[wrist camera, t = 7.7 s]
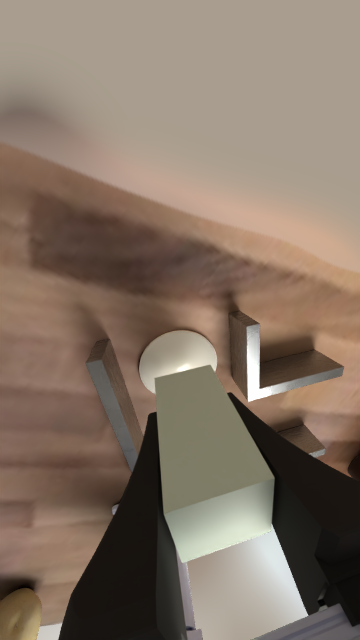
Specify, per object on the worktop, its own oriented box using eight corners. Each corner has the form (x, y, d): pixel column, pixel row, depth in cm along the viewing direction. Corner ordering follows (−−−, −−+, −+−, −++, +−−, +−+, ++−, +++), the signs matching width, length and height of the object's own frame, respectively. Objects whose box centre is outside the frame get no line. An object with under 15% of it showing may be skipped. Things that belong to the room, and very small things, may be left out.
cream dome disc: (218, 386, 18) (219, 388, 18) (149, 404, 18) (149, 406, 17) (212, 322, 16) (213, 323, 15) (130, 340, 15) (130, 341, 15)
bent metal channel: (303, 430, 23) (324, 454, 21) (147, 476, 21) (147, 510, 18) (323, 292, 17) (358, 301, 14) (96, 341, 14) (85, 363, 12)
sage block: (215, 406, 14) (270, 531, 8) (165, 419, 14) (182, 563, 8) (210, 364, 13) (274, 477, 6) (154, 377, 13) (164, 514, 6)
